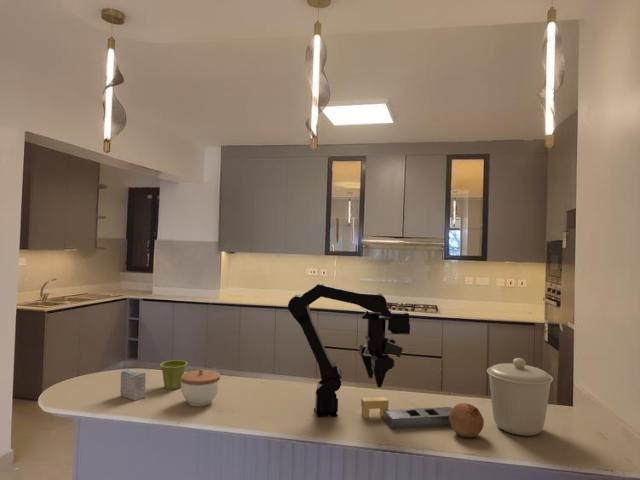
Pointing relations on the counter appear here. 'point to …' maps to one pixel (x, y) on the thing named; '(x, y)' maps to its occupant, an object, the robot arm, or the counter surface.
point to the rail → (417, 417)
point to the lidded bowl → (200, 386)
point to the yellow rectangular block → (374, 405)
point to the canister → (519, 397)
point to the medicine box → (133, 384)
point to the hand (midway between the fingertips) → (374, 382)
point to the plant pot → (173, 373)
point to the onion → (466, 420)
